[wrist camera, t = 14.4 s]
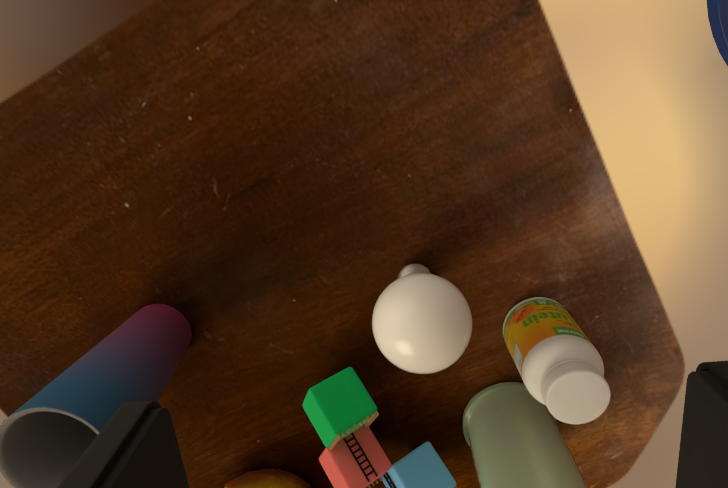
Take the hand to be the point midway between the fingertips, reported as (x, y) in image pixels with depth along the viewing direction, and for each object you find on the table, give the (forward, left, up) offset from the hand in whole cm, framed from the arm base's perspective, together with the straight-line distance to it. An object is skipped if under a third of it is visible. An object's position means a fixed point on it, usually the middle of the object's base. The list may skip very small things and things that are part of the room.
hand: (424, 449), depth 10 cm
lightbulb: (-1, +9, -31) cm, 32 cm away
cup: (+20, +12, -31) cm, 38 cm away
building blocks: (+3, +22, -31) cm, 38 cm away
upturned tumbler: (-8, +23, -30) cm, 39 cm away
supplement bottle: (-10, +14, -31) cm, 35 cm away
